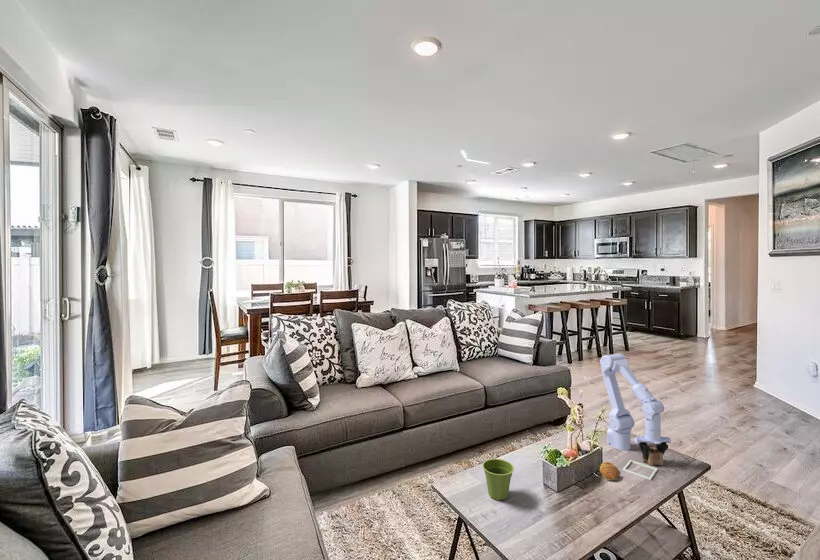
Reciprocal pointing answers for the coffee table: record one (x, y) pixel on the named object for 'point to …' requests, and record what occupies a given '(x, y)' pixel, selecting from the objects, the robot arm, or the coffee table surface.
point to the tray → (641, 465)
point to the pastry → (609, 471)
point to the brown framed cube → (654, 457)
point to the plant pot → (498, 477)
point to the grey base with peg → (652, 465)
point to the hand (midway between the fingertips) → (652, 459)
